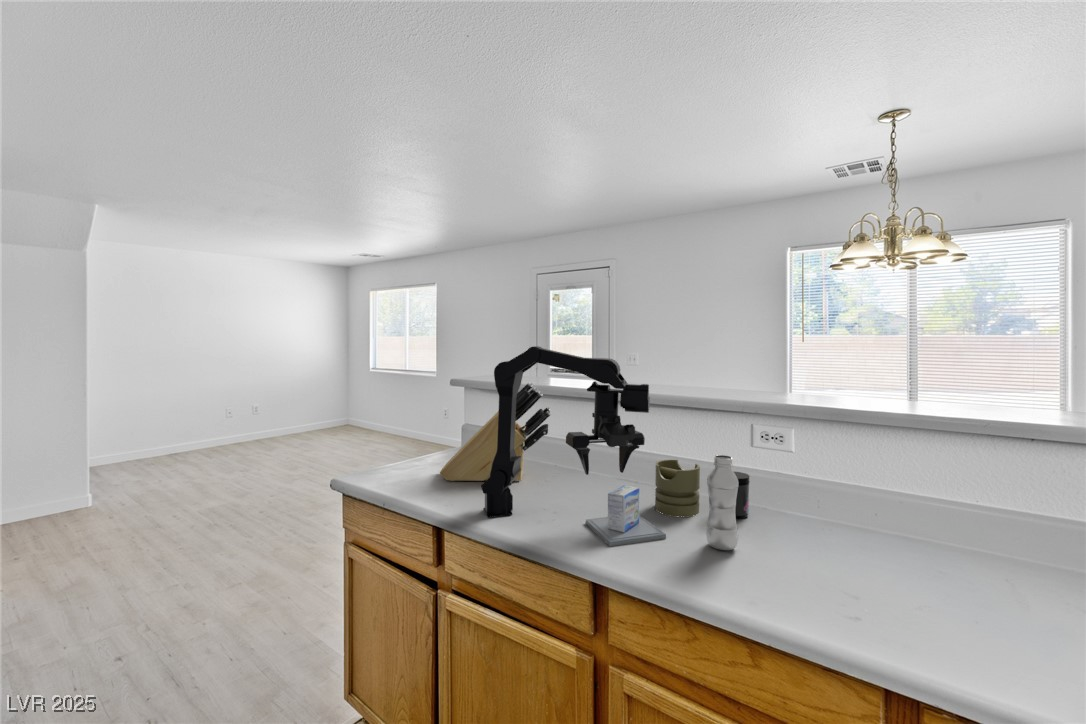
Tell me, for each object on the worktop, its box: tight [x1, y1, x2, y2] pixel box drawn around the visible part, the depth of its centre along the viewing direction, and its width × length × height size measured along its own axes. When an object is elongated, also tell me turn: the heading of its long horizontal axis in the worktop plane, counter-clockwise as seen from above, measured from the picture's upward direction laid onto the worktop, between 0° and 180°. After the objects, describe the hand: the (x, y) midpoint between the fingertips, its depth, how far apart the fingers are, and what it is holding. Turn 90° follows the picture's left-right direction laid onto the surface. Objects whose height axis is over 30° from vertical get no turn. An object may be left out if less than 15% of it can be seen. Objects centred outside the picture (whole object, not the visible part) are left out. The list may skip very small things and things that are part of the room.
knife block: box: [439, 381, 552, 482], centre depth 163 cm, size 11×35×31 cm, turn 89°
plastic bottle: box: [705, 454, 739, 551], centre depth 109 cm, size 6×7×20 cm
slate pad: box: [585, 514, 667, 547], centre depth 119 cm, size 14×14×1 cm
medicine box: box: [607, 485, 640, 533], centre depth 119 cm, size 8×4×9 cm, turn 143°
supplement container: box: [732, 470, 751, 520], centre depth 129 cm, size 7×7×10 cm
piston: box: [654, 459, 701, 518], centre depth 133 cm, size 11×12×11 cm
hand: (604, 473), depth 123 cm, fingers open, 9 cm apart
